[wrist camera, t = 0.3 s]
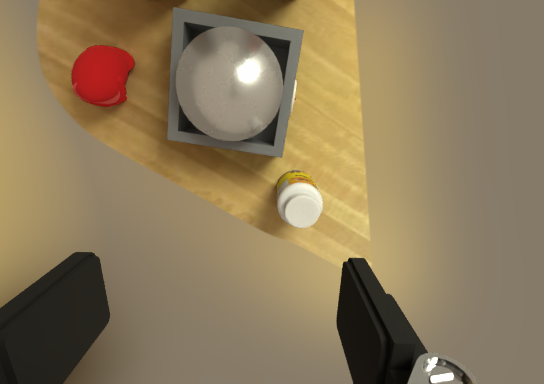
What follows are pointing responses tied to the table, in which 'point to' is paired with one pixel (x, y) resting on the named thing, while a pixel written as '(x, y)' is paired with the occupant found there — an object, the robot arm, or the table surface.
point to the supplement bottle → (298, 199)
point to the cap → (102, 75)
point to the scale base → (287, 53)
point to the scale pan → (229, 83)
